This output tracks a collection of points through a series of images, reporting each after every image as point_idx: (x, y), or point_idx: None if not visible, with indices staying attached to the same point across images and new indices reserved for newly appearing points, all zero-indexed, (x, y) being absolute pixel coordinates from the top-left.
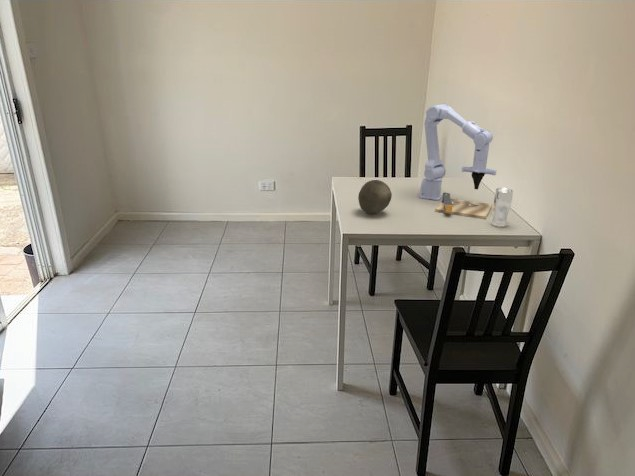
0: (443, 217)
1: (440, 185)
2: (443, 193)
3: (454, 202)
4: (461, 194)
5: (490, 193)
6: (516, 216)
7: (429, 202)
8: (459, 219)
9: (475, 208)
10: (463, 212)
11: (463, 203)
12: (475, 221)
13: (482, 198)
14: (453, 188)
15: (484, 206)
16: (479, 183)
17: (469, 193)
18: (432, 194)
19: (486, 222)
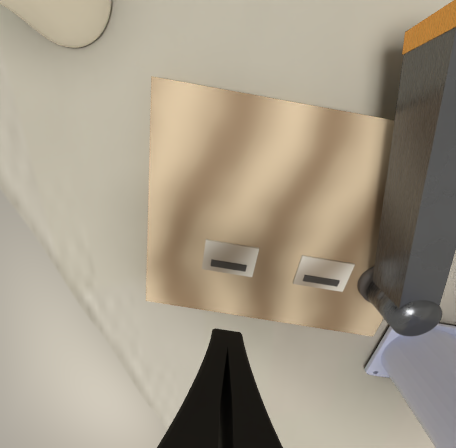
0: None
1: (444, 416)
2: (435, 321)
3: (333, 279)
4: (277, 395)
5: (170, 418)
6: (15, 187)
7: (450, 283)
8: (327, 11)
9: (222, 219)
10: (297, 121)
11: (283, 280)
12: (218, 2)
13: (195, 372)
14: (302, 439)
15: (177, 262)
16: (189, 392)
17: None
18: (448, 346)
19: (146, 6)
